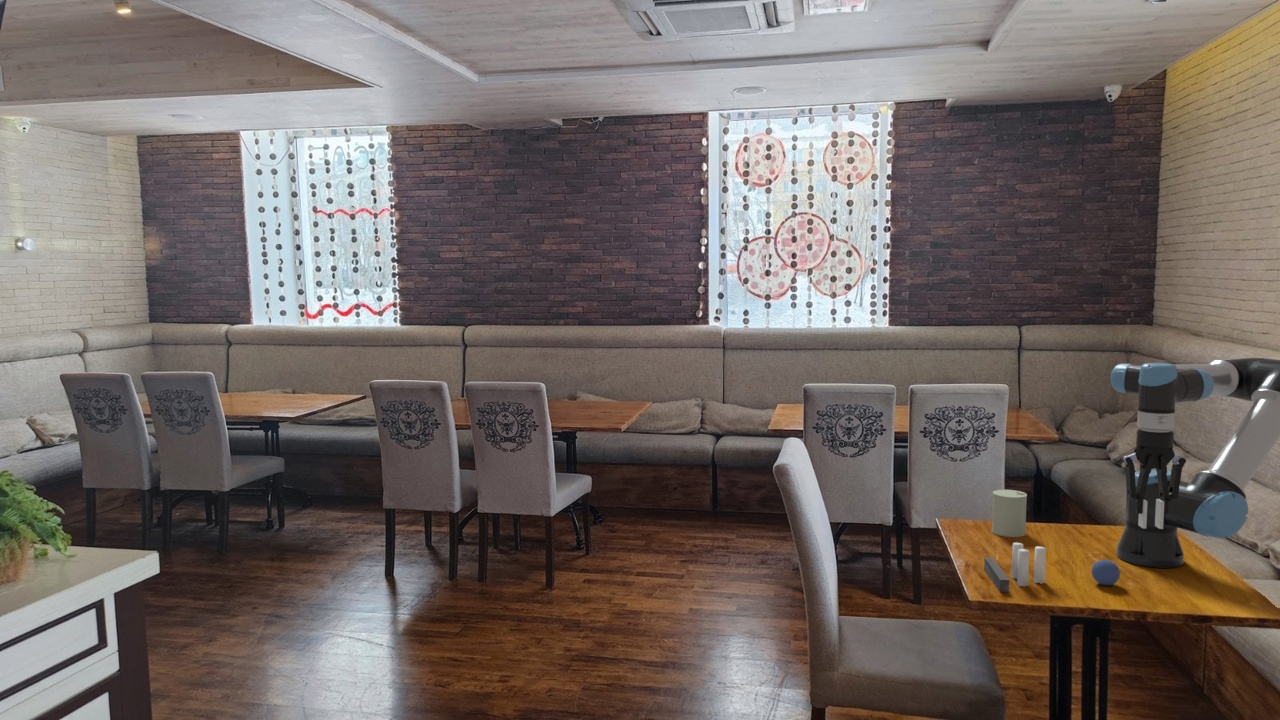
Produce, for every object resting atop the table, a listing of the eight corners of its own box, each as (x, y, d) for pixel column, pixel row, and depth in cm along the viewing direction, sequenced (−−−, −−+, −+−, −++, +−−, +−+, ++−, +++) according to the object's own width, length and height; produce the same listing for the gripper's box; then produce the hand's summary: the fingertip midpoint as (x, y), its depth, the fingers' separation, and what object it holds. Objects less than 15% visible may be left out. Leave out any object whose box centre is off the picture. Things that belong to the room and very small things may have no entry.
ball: (1113, 580, 215) (1114, 556, 214) (1123, 589, 209) (1124, 565, 208) (1087, 579, 216) (1088, 555, 215) (1096, 588, 210) (1097, 564, 209)
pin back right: (1020, 576, 219) (1021, 542, 218) (1023, 579, 216) (1024, 545, 216) (1010, 575, 219) (1011, 542, 218) (1013, 579, 217) (1014, 545, 216)
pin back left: (1026, 583, 214) (1027, 549, 213) (1029, 586, 212) (1030, 552, 211) (1015, 582, 214) (1017, 548, 213) (1018, 586, 212) (1019, 552, 211)
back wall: (992, 569, 224) (992, 557, 224) (1008, 592, 208) (1009, 580, 208) (984, 569, 224) (984, 557, 224) (999, 592, 208) (1000, 579, 208)
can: (1029, 538, 249) (1030, 496, 248) (994, 536, 251) (995, 495, 250) (1022, 528, 258) (1023, 488, 257) (988, 527, 260) (989, 487, 259)
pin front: (1042, 580, 216) (1044, 546, 215) (1045, 583, 213) (1047, 549, 212) (1032, 580, 216) (1033, 546, 215) (1035, 583, 214) (1036, 549, 213)
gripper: (1124, 431, 205) (1120, 530, 207) (1199, 432, 202) (1194, 532, 205) (1112, 426, 212) (1108, 521, 214) (1185, 426, 209) (1180, 523, 212)
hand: (1150, 526), depth 209 cm, fingers open, 3 cm apart
